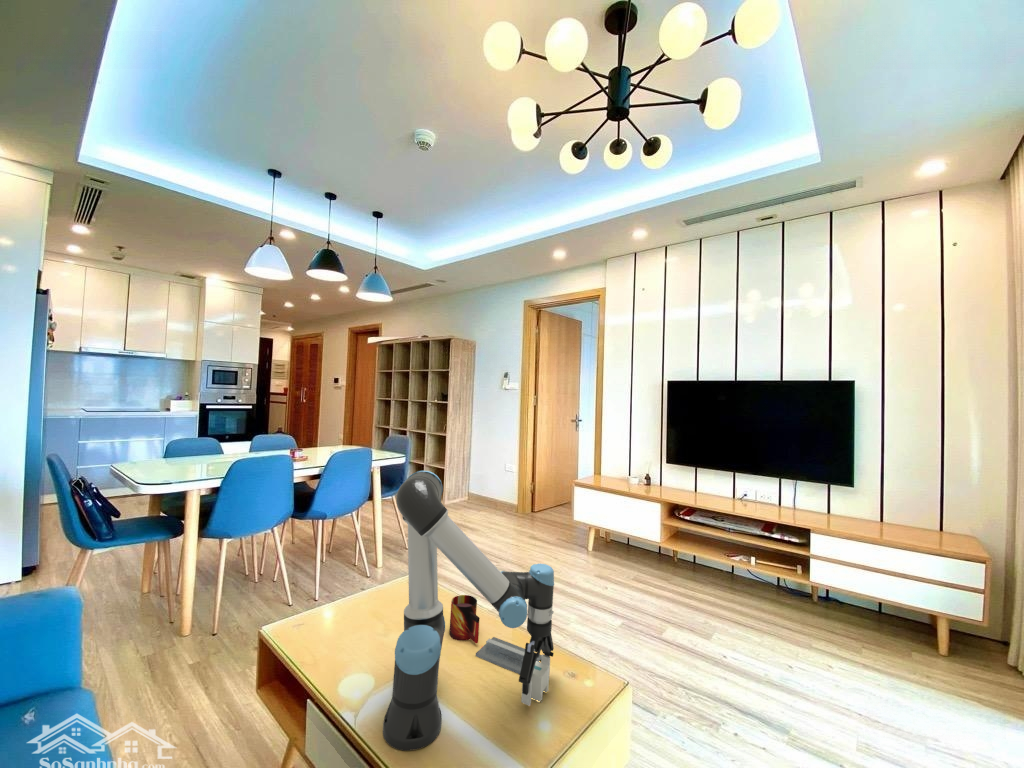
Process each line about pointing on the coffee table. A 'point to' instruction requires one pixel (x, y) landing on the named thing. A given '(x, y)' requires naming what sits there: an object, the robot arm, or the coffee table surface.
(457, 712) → the coffee table surface
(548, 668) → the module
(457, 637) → the mug
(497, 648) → the rail plate
